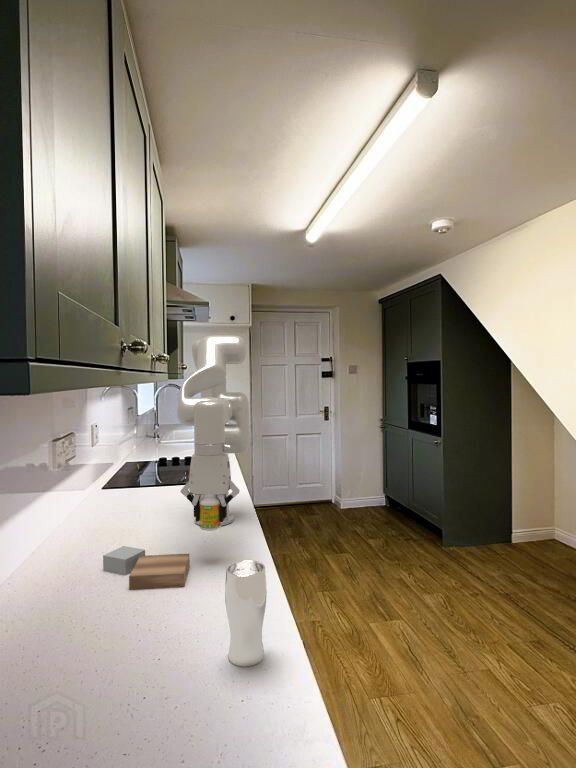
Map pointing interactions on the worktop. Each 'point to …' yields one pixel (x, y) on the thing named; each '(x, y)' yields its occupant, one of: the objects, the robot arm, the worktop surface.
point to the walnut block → (159, 571)
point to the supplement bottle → (209, 512)
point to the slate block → (122, 560)
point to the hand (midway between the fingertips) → (210, 519)
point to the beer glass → (245, 611)
